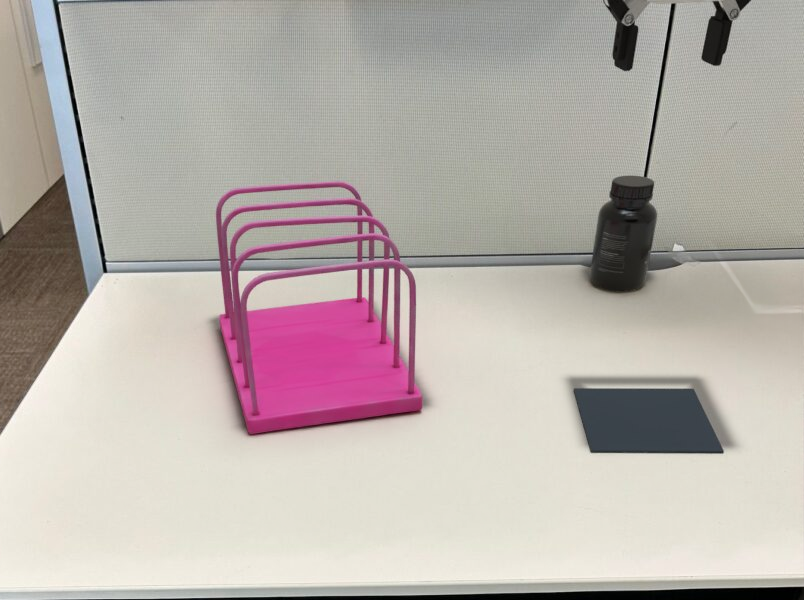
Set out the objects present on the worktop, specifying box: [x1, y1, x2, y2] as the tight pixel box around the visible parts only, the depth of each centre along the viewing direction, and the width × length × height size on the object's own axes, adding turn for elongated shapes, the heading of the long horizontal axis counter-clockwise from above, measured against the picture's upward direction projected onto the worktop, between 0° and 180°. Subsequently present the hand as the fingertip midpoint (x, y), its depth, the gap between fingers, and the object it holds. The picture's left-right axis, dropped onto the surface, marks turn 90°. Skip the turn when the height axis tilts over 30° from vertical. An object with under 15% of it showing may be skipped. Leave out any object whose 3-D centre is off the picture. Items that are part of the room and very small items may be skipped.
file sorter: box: [215, 180, 423, 435], centre depth 94 cm, size 17×25×16 cm
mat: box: [573, 387, 725, 454], centre depth 89 cm, size 12×12×1 cm
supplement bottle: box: [589, 175, 658, 293], centre depth 111 cm, size 7×7×12 cm
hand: (666, 65), depth 96 cm, fingers open, 9 cm apart
